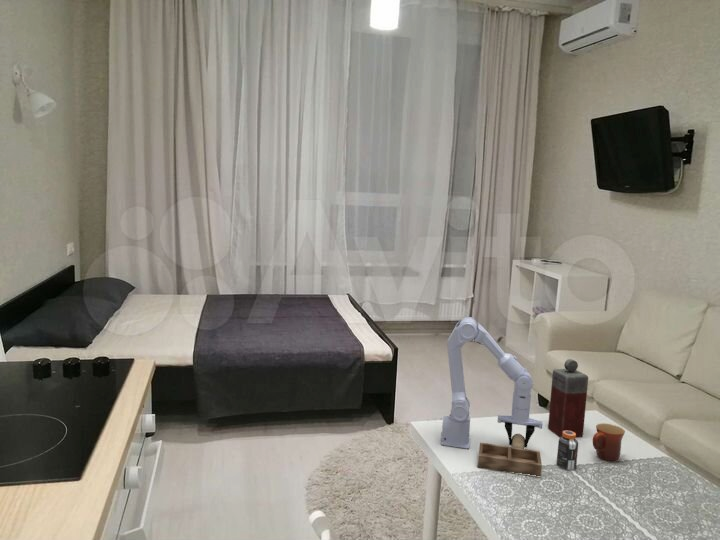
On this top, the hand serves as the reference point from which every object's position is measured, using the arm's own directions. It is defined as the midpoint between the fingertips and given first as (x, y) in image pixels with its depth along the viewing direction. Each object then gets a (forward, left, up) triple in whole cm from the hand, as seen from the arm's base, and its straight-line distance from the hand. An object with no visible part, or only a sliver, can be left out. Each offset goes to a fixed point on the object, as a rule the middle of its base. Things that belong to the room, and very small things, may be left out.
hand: (517, 445), depth 180 cm
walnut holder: (-3, -12, -2) cm, 13 cm away
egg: (0, 0, -2) cm, 2 cm away
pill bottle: (+15, -6, -2) cm, 16 cm away
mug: (+28, +4, -2) cm, 28 cm away
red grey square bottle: (+17, +23, -2) cm, 29 cm away
